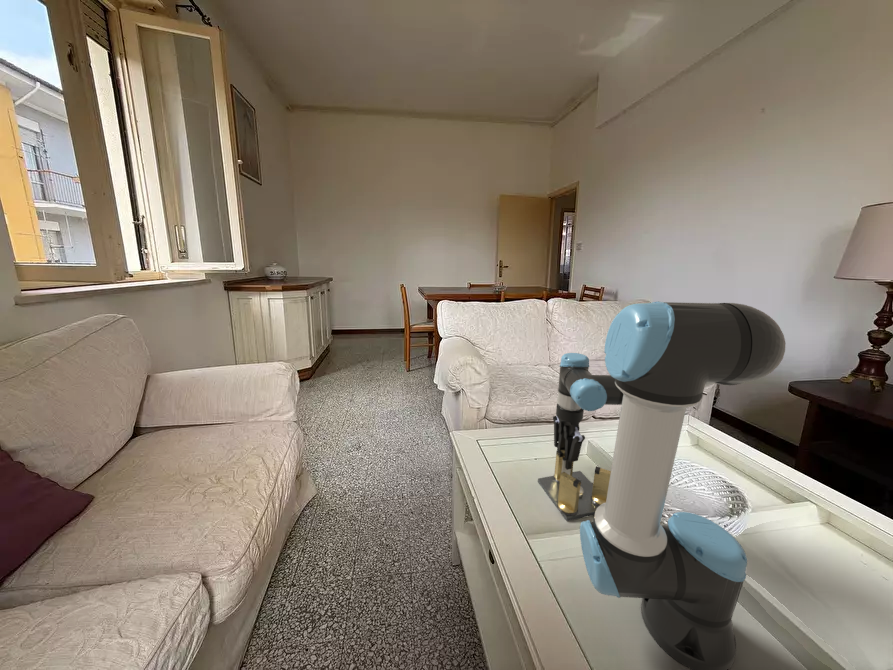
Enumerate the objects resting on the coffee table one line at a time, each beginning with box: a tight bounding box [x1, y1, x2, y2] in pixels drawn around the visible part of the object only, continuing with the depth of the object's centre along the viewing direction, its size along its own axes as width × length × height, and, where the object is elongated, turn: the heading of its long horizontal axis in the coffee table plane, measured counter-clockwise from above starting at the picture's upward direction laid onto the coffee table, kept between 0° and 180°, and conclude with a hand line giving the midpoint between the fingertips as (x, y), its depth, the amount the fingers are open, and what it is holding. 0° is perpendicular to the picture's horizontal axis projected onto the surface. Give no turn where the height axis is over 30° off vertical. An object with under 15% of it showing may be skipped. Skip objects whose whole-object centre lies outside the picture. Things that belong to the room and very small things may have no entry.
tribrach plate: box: [537, 470, 600, 522], centre depth 102 cm, size 17×17×2 cm
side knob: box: [592, 466, 611, 505], centre depth 96 cm, size 5×5×10 cm
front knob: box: [558, 472, 581, 514], centre depth 94 cm, size 5×5×10 cm
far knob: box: [553, 450, 574, 482], centre depth 105 cm, size 5×5×10 cm
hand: (563, 473), depth 106 cm, fingers closed on far knob, 2 cm apart
